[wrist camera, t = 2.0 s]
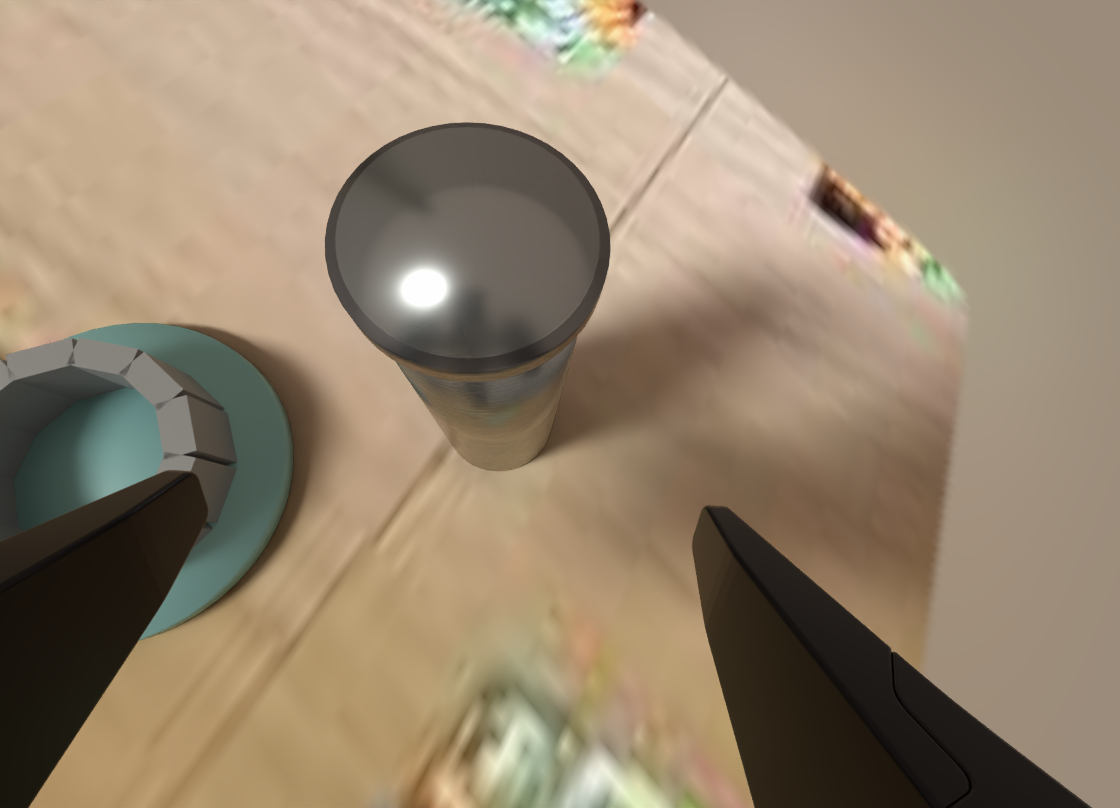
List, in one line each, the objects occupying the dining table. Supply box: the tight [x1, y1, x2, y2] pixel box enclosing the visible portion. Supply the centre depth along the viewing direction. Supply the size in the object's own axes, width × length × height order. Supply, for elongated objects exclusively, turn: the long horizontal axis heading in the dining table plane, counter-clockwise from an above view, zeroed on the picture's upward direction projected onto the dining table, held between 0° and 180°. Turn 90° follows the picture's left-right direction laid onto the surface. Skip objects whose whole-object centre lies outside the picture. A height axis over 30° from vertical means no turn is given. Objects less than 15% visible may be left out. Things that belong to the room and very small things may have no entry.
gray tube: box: [325, 122, 610, 471], centre depth 15 cm, size 5×5×13 cm
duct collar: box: [0, 323, 293, 640], centre depth 18 cm, size 12×12×3 cm
